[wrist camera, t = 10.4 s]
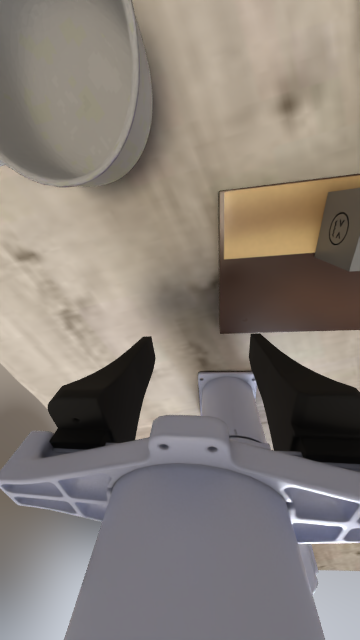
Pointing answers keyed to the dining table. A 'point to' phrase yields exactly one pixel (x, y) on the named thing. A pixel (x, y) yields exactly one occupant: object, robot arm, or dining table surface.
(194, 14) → the dining table surface
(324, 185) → the walnut board
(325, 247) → the dice cube
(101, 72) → the teacup
